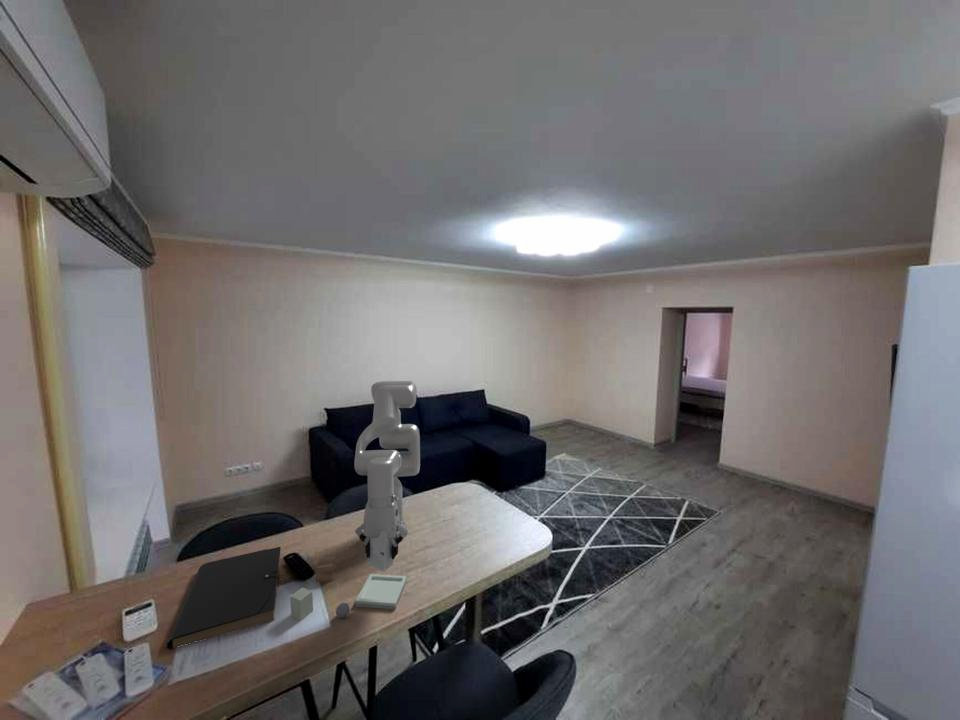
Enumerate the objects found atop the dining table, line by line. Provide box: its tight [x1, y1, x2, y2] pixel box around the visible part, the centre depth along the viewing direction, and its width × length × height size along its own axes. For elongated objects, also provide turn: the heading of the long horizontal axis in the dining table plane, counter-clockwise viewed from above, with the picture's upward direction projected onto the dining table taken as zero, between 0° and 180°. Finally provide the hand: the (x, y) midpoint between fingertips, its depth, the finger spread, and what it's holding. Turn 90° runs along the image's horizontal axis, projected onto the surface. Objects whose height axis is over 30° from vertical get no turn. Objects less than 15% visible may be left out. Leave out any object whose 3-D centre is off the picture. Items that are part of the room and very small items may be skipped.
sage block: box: [289, 587, 314, 622], centre depth 107 cm, size 4×4×6 cm
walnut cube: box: [315, 556, 336, 583], centre depth 123 cm, size 5×5×5 cm
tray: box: [354, 573, 408, 610], centre depth 116 cm, size 12×12×2 cm
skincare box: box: [369, 531, 394, 572], centre depth 115 cm, size 6×4×12 cm
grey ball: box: [335, 602, 350, 619], centre depth 107 cm, size 4×4×4 cm
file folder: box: [166, 546, 281, 651], centre depth 115 cm, size 33×4×24 cm
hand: (381, 555), depth 115 cm, fingers closed on skincare box, 7 cm apart
